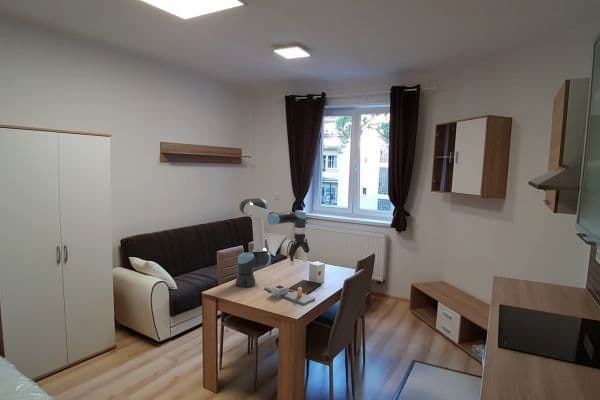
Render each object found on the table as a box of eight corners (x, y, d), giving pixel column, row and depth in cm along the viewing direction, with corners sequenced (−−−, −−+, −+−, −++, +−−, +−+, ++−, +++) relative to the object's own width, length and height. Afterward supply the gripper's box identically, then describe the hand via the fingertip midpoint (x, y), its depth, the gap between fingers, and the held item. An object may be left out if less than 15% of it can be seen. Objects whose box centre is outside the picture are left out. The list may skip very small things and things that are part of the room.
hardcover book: (288, 291, 248) (288, 288, 248) (302, 282, 268) (303, 279, 268) (307, 295, 241) (307, 292, 240) (321, 286, 261) (321, 283, 261)
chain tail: (262, 289, 249) (262, 288, 249) (266, 288, 252) (266, 286, 252) (274, 293, 241) (274, 292, 241) (278, 292, 244) (278, 290, 244)
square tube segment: (271, 295, 238) (271, 287, 237) (279, 292, 244) (279, 284, 243) (279, 298, 232) (279, 290, 232) (287, 295, 239) (287, 287, 238)
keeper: (283, 297, 234) (284, 287, 233) (295, 293, 243) (295, 282, 242) (303, 305, 222) (304, 294, 222) (315, 300, 232) (315, 289, 231)
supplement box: (316, 284, 263) (317, 265, 261) (308, 281, 269) (309, 262, 268) (324, 282, 269) (325, 263, 267) (316, 279, 275) (317, 261, 274)
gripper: (292, 236, 221) (291, 268, 223) (315, 231, 240) (314, 261, 243) (283, 234, 226) (282, 265, 228) (306, 230, 245) (305, 258, 247)
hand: (298, 263), depth 235 cm, fingers open, 13 cm apart
